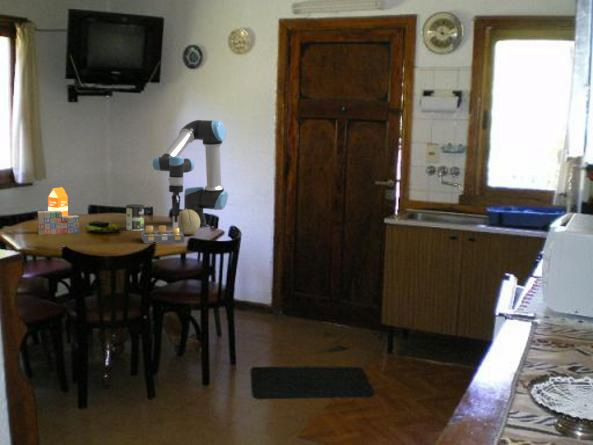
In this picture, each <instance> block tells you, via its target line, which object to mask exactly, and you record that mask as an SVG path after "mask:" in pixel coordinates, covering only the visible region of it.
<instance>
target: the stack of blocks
mask: <svg viewBox="0 0 593 445" xmlns="http://www.w3.org/2000/svg"><path fill="white" fill-rule="evenodd" d="M37 232H38V235H59V234H60V235H61V234H63V235H67V234H79V233H80V217H79V215H68V216H62V212H61V211H48V210H38V211H37Z"/></svg>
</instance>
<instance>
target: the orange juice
mask: <svg viewBox="0 0 593 445" xmlns="http://www.w3.org/2000/svg"><path fill="white" fill-rule="evenodd" d="M68 198H69V197H68V195H67V193H66V190H65V189H64V188H63V187H54V188H52V190H51V192H50V193H49V195H48V196H47V205H48V206H47V211H61V212H62V216H69V210H68V209H69V206H68V204H69V203H68V202H69V201H68Z"/></svg>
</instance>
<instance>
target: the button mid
mask: <svg viewBox="0 0 593 445" xmlns="http://www.w3.org/2000/svg"><path fill="white" fill-rule="evenodd" d="M158 231H159V234H166V231H167V225H164V224H163V225H158Z"/></svg>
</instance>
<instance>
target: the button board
mask: <svg viewBox="0 0 593 445" xmlns="http://www.w3.org/2000/svg"><path fill="white" fill-rule="evenodd" d="M140 231H141V232H140V234H141V236H140V237H141V238H140V239H141V240H142V242H143V243H144V244H154V243H153V242H156V243H155V244H177V243H180V244H181V243H185V234H183V233H182V232H181V231H179V234H172V230H166V234H159V230H153V234H146V230H140Z"/></svg>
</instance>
